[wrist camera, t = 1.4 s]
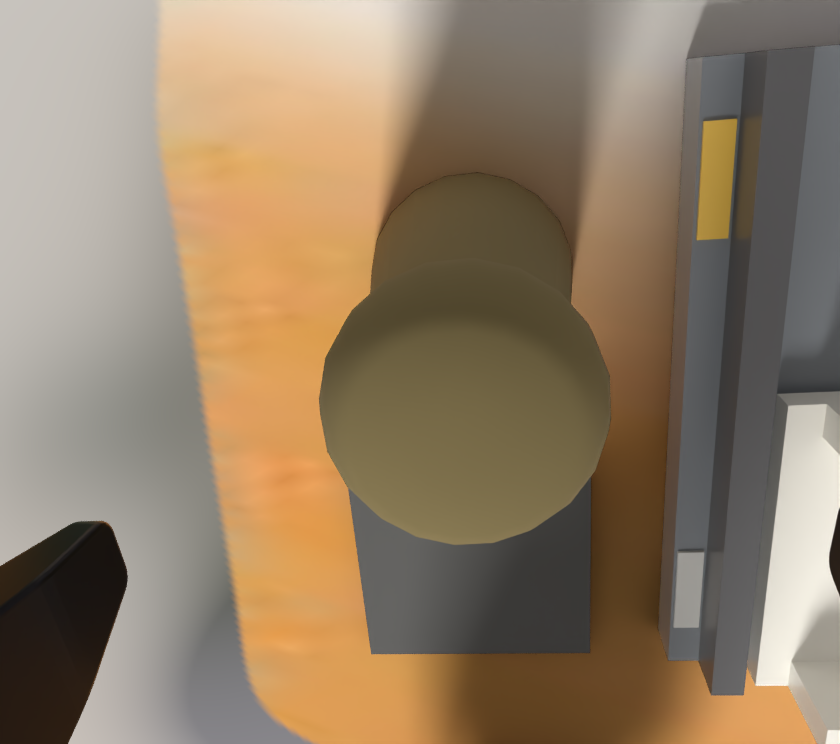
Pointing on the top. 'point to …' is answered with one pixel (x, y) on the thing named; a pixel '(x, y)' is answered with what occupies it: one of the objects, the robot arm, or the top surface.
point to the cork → (467, 369)
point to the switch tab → (801, 562)
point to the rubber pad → (477, 587)
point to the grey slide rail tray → (744, 327)
